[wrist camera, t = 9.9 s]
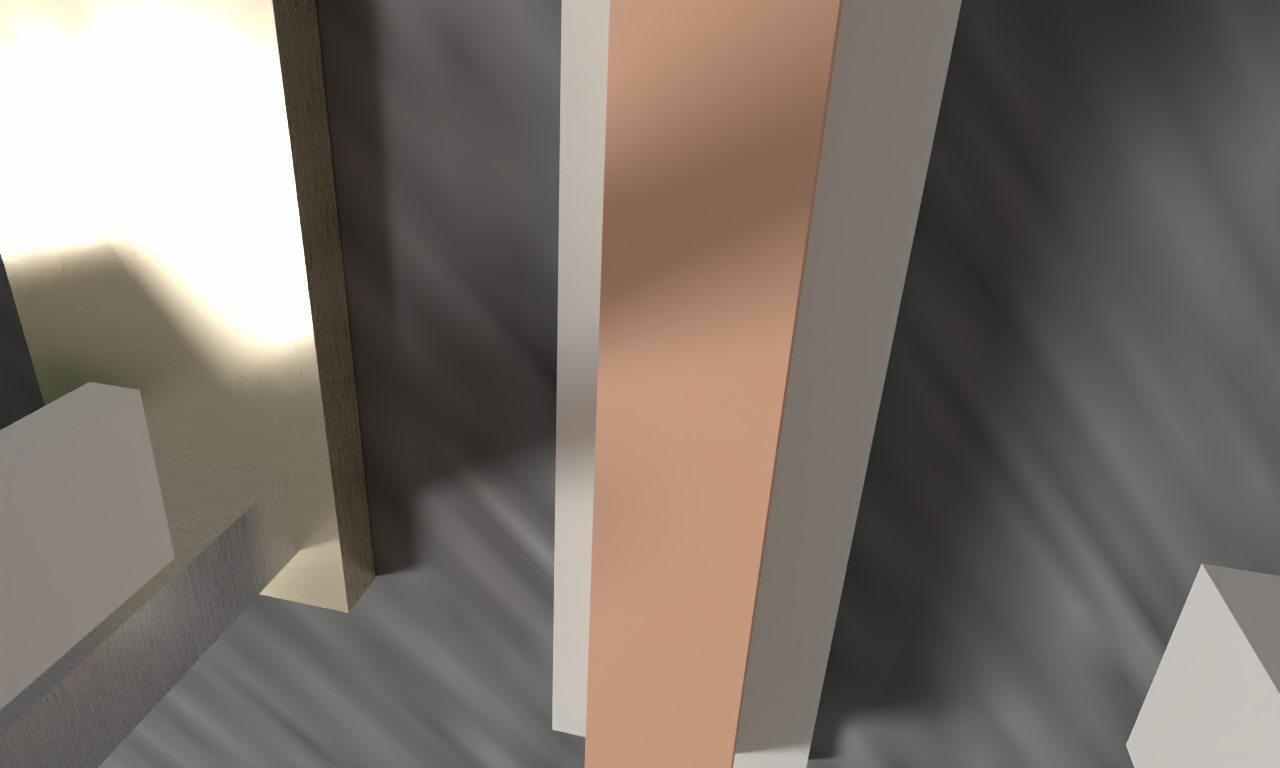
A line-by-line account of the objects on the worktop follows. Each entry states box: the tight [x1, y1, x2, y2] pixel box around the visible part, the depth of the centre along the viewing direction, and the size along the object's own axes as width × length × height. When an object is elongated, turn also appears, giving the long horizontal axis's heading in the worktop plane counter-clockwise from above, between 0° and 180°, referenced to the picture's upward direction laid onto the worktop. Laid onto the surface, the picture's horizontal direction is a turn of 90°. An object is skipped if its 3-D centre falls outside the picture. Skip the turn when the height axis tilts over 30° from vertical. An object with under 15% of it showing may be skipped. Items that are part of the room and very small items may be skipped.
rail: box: [585, 0, 843, 768], centre depth 16 cm, size 26×3×4 cm, turn 177°
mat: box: [552, 0, 962, 768], centre depth 18 cm, size 27×7×1 cm, turn 177°
